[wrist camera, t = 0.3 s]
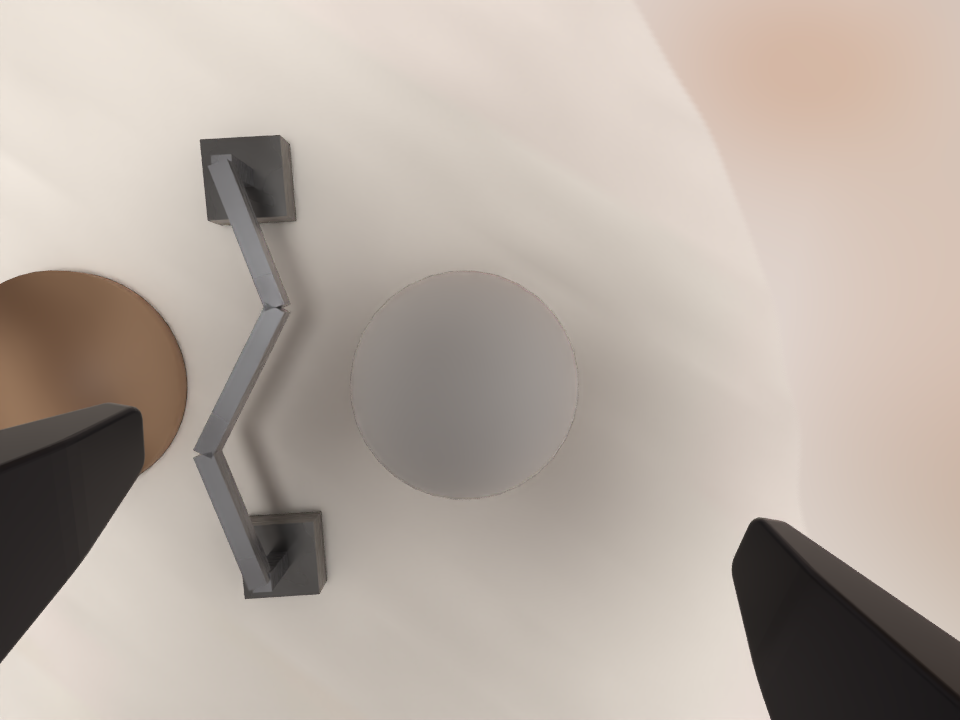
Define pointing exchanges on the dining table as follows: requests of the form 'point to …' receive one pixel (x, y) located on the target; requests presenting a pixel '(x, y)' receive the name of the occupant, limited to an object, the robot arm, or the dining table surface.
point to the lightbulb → (464, 385)
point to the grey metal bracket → (255, 367)
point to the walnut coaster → (87, 354)
